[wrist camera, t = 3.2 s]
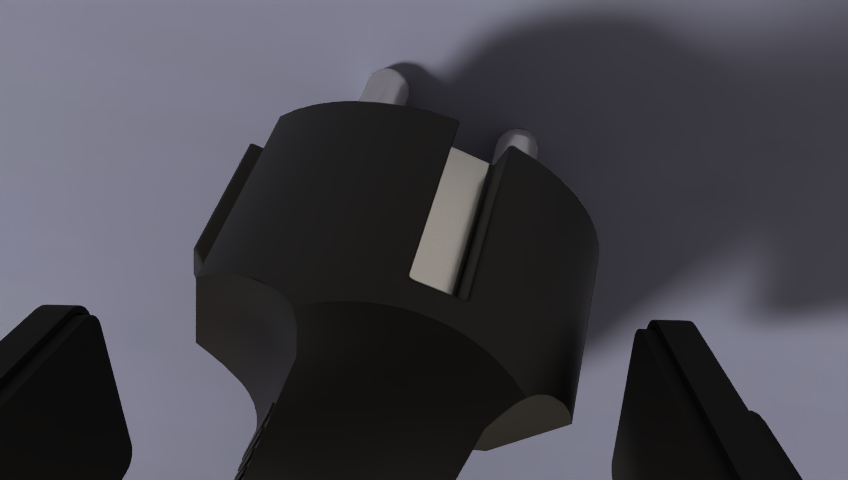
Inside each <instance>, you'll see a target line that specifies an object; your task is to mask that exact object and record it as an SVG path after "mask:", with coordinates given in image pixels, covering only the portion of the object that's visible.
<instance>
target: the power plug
mask: <svg viewBox="0 0 848 480" xmlns="http://www.w3.org/2000/svg"><path fill="white" fill-rule="evenodd" d="M409 91H410V89H409V84H408V82H407V80H406V79H405V77H404V76H403V75H402V74H401V73H399V72H398V71H397V70H393V69H389V68H387V69H381V70H378V71H376V72H375V73H373V74H372V76H371V77H370V78H369V80H368V82H367V84H366V86H365V88H364V91H363V93H362V95H361V97H360V99H359V101H342V102H330V103H322V104H317V105H312V106H308V107H304V108H300V109H297V110H294V111H292V112H290V113H287V114H285V115H283V116H280V118H279V120H278V122H277V124H276V126H275V128H274V130H273V132H272V134H271V135H270V137H269V139H268V141H267V143H266V145H265V147H264V148H261V147H259V146H257V145H254V144H250V145H249V147H248V149H247V151H246V153H245V155H244V157H243V158H242V160H241V162H240V164H239V166H238V168H237V170H236V171H235V173H234V175H233V177H232V179H231V181H230V183H229V184H228V186H227V188H226V190H225V192H224V194H223V196H222V197H221V199H220V201H219V203H218V205H217V207H216V208H215V210H214V212H213V214H212V216H211V218H210V220H209V221H208V223H207V225H206V227H205V229H204V231H203V233H202V234H201V236H200V238H199V240H198V242H197V244H196V246H195V247H194V275H195V277H196V343H197V344H199V345H200V346H201V347H202V348H204V349H205V350H206V351H208V352H209V353H210V354H211V355H212V356H214V357H215V358H216V359H217V360H219V361H220V362H221V363H222V364H223V365H224V366H225V367H226V368H227V369H228V370H229V371H230V372H231V373H232V374H233V375H234V376H235V377H236V378H237V379H238V380H239V381H240V382H241V383H242V384H243V385H244V387H245V388H246V389H247V391H248V392H249V394H250V396H251V398H252V400H253V402H254V405H255V409H256V413H257V428H256V432H255V434H254V436H253V438H252V440H251V442H250V444H249V446H248V448H247V449H246V451H245V453H244V455H243V458H242V462H241V464H240V466H239V468H238V473H237V475H236V477H235V479H234V480H456V478H457V477H458V475H459V473H460V471H461V470H462V468H463V466H464V464H465V463H466V461H467V459H468V457H469V456H470V454H471V452H472V450H481V451H487V450H491V449H494V448H497V447H500V446H503V445H506V444H510V443H513V442H516V441H519V440H522V439H525V438H529V437H532V436H535V435H538V434H541V433H544V432H548V431H551V430H554V429H557V428H560V427H563V426H567V425H570V424H572V419H573V413H574V407H575V400H576V394H577V388H578V382H579V375H580V369H581V363H582V356H583V350H584V344H585V338H586V331H587V325H588V319H589V313H590V306H591V300H592V294H593V287H594V281H595V275H596V269H597V262H598V256H599V252H598V239H597V235H596V231H595V228H594V226H593V223H592V221H591V219H590V217H589V215H588V213H587V211H586V210H585V208H584V207H583V205H582V204H581V202H580V201H579V200H578V198H577V197H576V196H575V195H574V194H573V192H572V191H571V190H570V189H569V188H568V187H567V186H566V185H565V184H564V183H563V182H562V181H561V180H560V179H559V178H558V177H557V176H556V175H554V174H553V173H552V172H551V171H550V170H548V169H547V168H546V167H544V166H543V165H542V164H541V163H540V162H538V161H537V160H536V159H537V155H538V143H537V141H536V139H535V138H534V136H533V135H532V134H531V133H529V132H528V131H526V130H523V129H511V130H509V131H507V132H505V133H504V134H502V135H501V137H500V138H499V140H498V142H497V145H496V148H495V152H494V155H493V159H492V162H491V164H489V163H487V162H485V161H482V160H480V159H478V158H476V157H473V156H471V155H469V154H467V153H465V152H462V151H460V150H458V149H456V148H453V147H452V144H453V141H454V138H455V135H456V132H457V129H458V126H459V121H458V120H456V119H453V118H450V117H446V116H443V115H440V114H436V113H433V112H430V111H425V110H421V109H417V108H412V107H408V106H405V105H406V103H407V100H408V97H409Z"/></svg>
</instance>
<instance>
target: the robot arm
mask: <svg viewBox="0 0 848 480" xmlns="http://www.w3.org/2000/svg"><path fill="white" fill-rule="evenodd" d="M131 458H132V444H131V441H130V437H129V433H128V429H127V425H126V421H125V417H124V413H123V410H122V406H121V402H120V398H119V394H118V390H117V386H116V382H115V379H114V375H113V371H112V367H111V363H110V359H109V355H108V351H107V348H106V344H105V340H104V336H103V332H102V328H101V324H100V322H99V320H98V318H97V317H96V316H93V315H90V314H89V312H88V310H87V309H86V308H85V307H83V306H78V305H41V306H40V307H38V308H37V309H35V310H34V311H33V312H32V313H31V314H30V315H29V316H28V317H27V318H25V319H24V320H23V321H22V322H21V323H20V324H19V325H18V326H17V327H15V328H14V329H13V330H12V331H11V332H10V333H9V334H8V335H7V336H5V337H4V338H3V339H2V340H1V341H0V480H122V479H123V477H124V475H125V474H126V472H127V470H128V468H129V465H130V462H131ZM612 479H613V480H802V478H801V476H800V475H799V473H798V472H797V470H796V469H795V467H794V466H793V464H792V463H791V461H790V459H789V458H788V456H787V455H786V453H785V452H784V450H783V449H782V447H781V445H780V444H779V442H778V441H777V439H776V438H775V436H774V435H773V433H772V432H771V430H770V428H769V427H768V425H767V424H766V422H765V421H764V420H763V419H762V418H761V416H760V415H759V414H757V413H755V412H753V411H749V410H748V409H747V407H746V406H745V404H744V402H743V401H742V399H741V398H740V396H739V394H738V393H737V391H736V390H735V388H734V386H733V385H732V383H731V382H730V380H729V378H728V377H727V375H726V374H725V372H724V370H723V369H722V367H721V366H720V364H719V362H718V361H717V359H716V358H715V356H714V354H713V353H712V351H711V350H710V348H709V346H708V345H707V343H706V342H705V340H704V339H703V337H702V335H701V334H700V332H699V331H698V329H697V327H696V326H695V325H694V323H693V322H691V321H681V320H652V321H650V323H649V325H648V327H647V329H638V330H637V331H636V333H635V337H634V342H633V348H632V353H631V359H630V364H629V370H628V376H627V381H626V387H625V392H624V398H623V403H622V409H621V415H620V420H619V426H618V431H617V437H616V442H615V448H614V454H613V459H612Z"/></svg>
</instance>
